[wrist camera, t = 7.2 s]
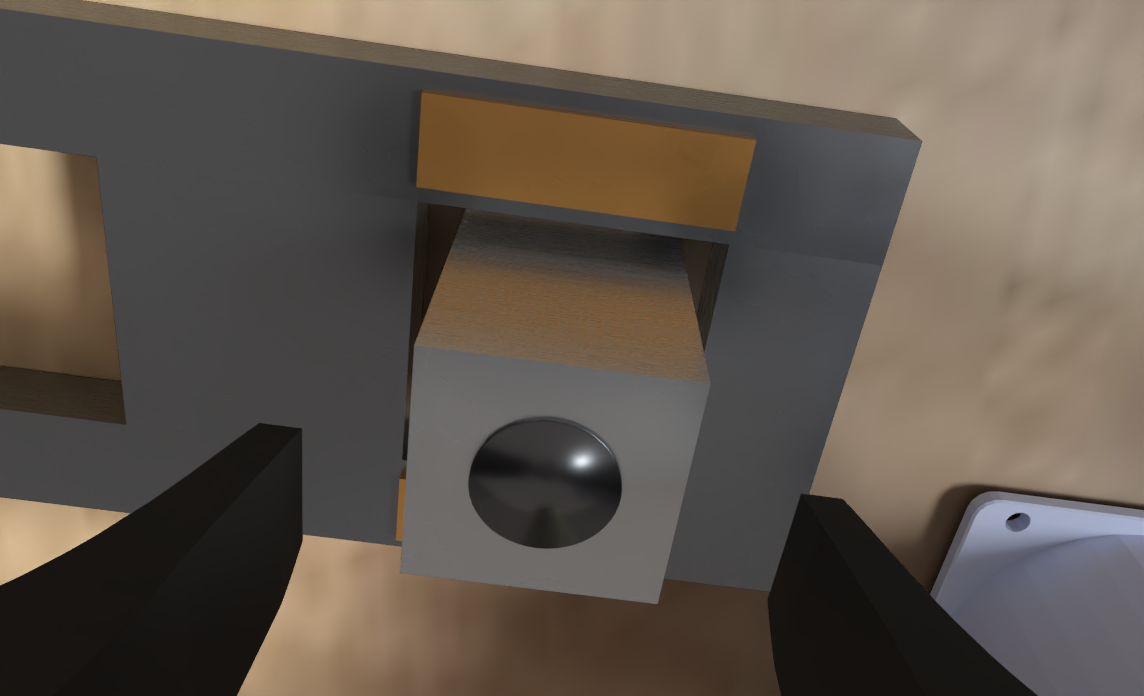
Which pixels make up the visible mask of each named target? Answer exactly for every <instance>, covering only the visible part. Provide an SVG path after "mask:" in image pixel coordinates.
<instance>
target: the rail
mask: <svg viewBox="0 0 1144 696" xmlns="http://www.w3.org/2000/svg"><path fill="white" fill-rule="evenodd" d="M0 144H6V145H13V146H20V147H28V148H35V149H42V150H49V151H57V152H64V153H71V154H78V155H86V156H93V157H96V159H97V168H98V177H99V186H100V194H101V203H102V212H103V221H104V230H105V239H106V248H107V257H108V265H109V274H110V283H111V292H112V301H113V310H114V319H115V328H116V337H117V345H118V354H119V363H120V372H121V381H122V382H118V381H111V380H103V379H95V378H87V377H80V376H72V375H64V374H56V373H49V372H41V371H33V370H25V369H17V368H10V367H2V366H0V497H3V498H11V499H20V500H28V501H36V502H44V503H52V504H60V505H68V506H76V507H85V508H93V509H101V510H109V511H117V512H125V513H132V512H134V511H136V510H137V509H139V508H140V507H142V506H143V505H145V504H147V503H148V502H150V501H151V500H153V499H154V498H156V497H157V496H158V495H160V494H161V493H163V492H164V491H166V490H167V489H168V488H170V487H171V486H173V485H174V484H176V483H177V482H178V481H180V480H181V479H183V478H184V477H185V476H187V475H188V474H190V473H191V472H192V471H194V470H195V469H197V468H198V467H199V466H201V465H202V464H203V463H205V462H206V461H207V460H209V459H210V458H212V457H213V456H214V455H216V454H217V453H218V452H220V451H221V450H222V449H224V448H225V447H226V446H228V445H229V444H230V443H232V442H233V441H235V440H236V439H237V438H239V437H240V436H241V435H243V434H244V433H246V432H247V431H248V430H250V429H251V428H253V427H254V426H256V425H257V424H258V423H265V424H272V425H280V426H288V427H295V428H302V524H303V534H304V535H312V536H320V537H329V538H337V539H345V540H353V541H361V542H369V543H377V544H385V545H394V546H402V536H403V520H404V503H405V487H406V471H407V454H408V438H409V421H410V405H411V389H412V372H413V356H414V344H415V342H416V339H417V336H418V334H419V331H420V328H421V325H422V310H423V295H424V279H425V264H426V249H427V233H428V218H429V203H433V204H440V205H447V206H454V207H461V208H469V209H476V210H483V211H490V212H498V213H505V214H512V215H519V216H527V217H534V218H541V219H548V220H555V221H563V222H570V223H577V224H584V225H592V226H599V227H606V228H613V229H621V230H628V231H635V232H642V233H649V234H657V235H664V236H671V237H678V238H686V239H693V240H700V241H707V242H713V247H712V251H711V256H710V260H709V265H708V269H707V274H706V278H705V283H704V287H703V292H702V296H701V300H700V305H699V309H698V314H697V322H698V327H699V332H700V336H701V341H702V346H703V351H704V355H705V360H706V365H707V369H708V374H709V379H710V388H709V393H708V397H707V401H706V405H705V409H704V413H703V417H702V422H701V426H700V430H699V434H698V438H697V442H696V447H695V451H694V455H693V459H692V463H691V467H690V472H689V476H688V480H687V484H686V488H685V492H684V497H683V501H682V505H681V509H680V513H679V517H678V521H677V526H676V530H675V534H674V538H673V542H672V546H671V551H670V555H669V559H668V563H667V567H666V571H665V576H664V579H670V580H678V581H686V582H695V583H703V584H711V585H719V586H727V587H735V588H743V589H751V590H760V591H768V592H770V590H771V587H772V584H773V581H774V578H775V575H776V571H777V568H778V565H779V562H780V559H781V556H782V552H783V549H784V546H785V543H786V540H787V537H788V533H789V530H790V527H791V524H792V521H793V518H794V514H795V511H796V508H797V505H798V502H799V499H800V495H801V494H808V495H809V492H810V489H811V486H812V483H813V480H814V476H815V473H816V470H817V467H818V464H819V461H820V458H821V455H822V452H823V448H824V445H825V442H826V439H827V436H828V433H829V430H830V427H831V424H832V420H833V417H834V414H835V411H836V408H837V405H838V402H839V399H840V396H841V393H842V389H843V386H844V383H845V380H846V377H847V374H848V371H849V368H850V365H851V361H852V358H853V355H854V352H855V349H856V346H857V343H858V340H859V337H860V333H861V330H862V327H863V324H864V321H865V318H866V315H867V312H868V309H869V305H870V302H871V299H872V296H873V293H874V290H875V287H876V284H877V281H878V278H879V274H880V271H881V268H882V265H883V262H884V259H885V256H886V253H887V250H888V246H889V243H890V240H891V237H892V234H893V231H894V228H895V225H896V222H897V218H898V215H899V212H900V209H901V206H902V203H903V200H904V197H905V194H906V191H907V187H908V184H909V181H910V178H911V175H912V172H913V169H914V166H915V163H916V159H917V156H918V153H919V150H920V147H921V144H922V141H921V140H920V139H919V138H918V137H917V136H916V135H915V134H913V133H912V132H911V131H910V130H909V129H908V128H907V127H905V126H904V125H903V124H902V123H901V122H900V121H899V120H898V119H896V118H889V117H882V116H875V115H868V114H861V113H855V112H848V111H841V110H834V109H827V108H820V107H813V106H806V105H799V104H793V103H786V102H779V101H772V100H765V99H758V98H751V97H744V96H737V95H730V94H724V93H717V92H710V91H703V90H696V89H689V88H682V87H675V86H668V85H662V84H655V83H648V82H641V81H634V80H627V79H620V78H613V77H606V76H599V75H593V74H586V73H579V72H572V71H565V70H558V69H551V68H544V67H537V66H531V65H524V64H517V63H510V62H503V61H496V60H489V59H482V58H475V57H469V56H462V55H455V54H448V53H441V52H434V51H427V50H420V49H413V48H406V47H400V46H393V45H386V44H379V43H372V42H365V41H358V40H351V39H344V38H338V37H331V36H324V35H317V34H310V33H303V32H296V31H289V30H282V29H275V28H269V27H262V26H255V25H248V24H241V23H234V22H227V21H220V20H213V19H207V18H200V17H193V16H186V15H179V14H172V13H165V12H158V11H151V10H144V9H138V8H131V7H124V6H117V5H110V4H103V3H96V2H89V1H82V0H0Z"/></svg>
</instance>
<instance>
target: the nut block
mask: <svg viewBox="0 0 1144 696" xmlns="http://www.w3.org/2000/svg"><path fill="white" fill-rule="evenodd" d="M709 388H710V379H709V374H708V369H707V365H706V360H705V355H704V351H703V346H702V341H701V336H700V332H699V327H698V322H697V317H696V313H695V308H694V303H693V299H692V294H691V289H690V284H689V280H688V275H687V270H686V266H685V261H684V256H683V251H682V247H681V242H680V238H678V237H671V236H664V235H657V234H649V233H642V232H635V231H628V230H621V229H613V228H606V227H599V226H592V225H584V224H577V223H570V222H563V221H555V220H548V219H541V218H534V217H527V216H519V215H512V214H505V213H498V212H490V211H483V210H476V209H469V208H466V210H465V213H464V215H463V218H462V221H461V223H460V226H459V228H458V231H457V234H456V236H455V239H454V242H453V244H452V247H451V249H450V252H449V255H448V257H447V260H446V263H445V265H444V268H443V270H442V273H441V276H440V278H439V281H438V284H437V286H436V289H435V292H434V294H433V297H432V299H431V302H430V305H429V307H428V310H427V313H426V315H425V318H424V320H423V323H422V326H421V328H420V331H419V334H418V336H417V339H416V342H415V344H414V356H413V372H412V389H411V405H410V421H409V438H408V454H407V471H406V487H405V503H404V520H403V536H402V553H401V569H400V573H405V574H413V575H421V576H429V577H438V578H446V579H454V580H462V581H471V582H479V583H487V584H496V585H504V586H512V587H520V588H529V589H537V590H545V591H553V592H562V593H570V594H578V595H586V596H595V597H603V598H611V599H619V600H628V601H636V602H644V603H653V604H658V601H659V596H660V592H661V588H662V584H663V580H664V576H665V571H666V567H667V563H668V559H669V555H670V551H671V546H672V542H673V538H674V534H675V530H676V526H677V521H678V517H679V513H680V509H681V505H682V501H683V497H684V492H685V488H686V484H687V480H688V476H689V472H690V467H691V463H692V459H693V455H694V451H695V447H696V442H697V438H698V434H699V430H700V426H701V422H702V417H703V413H704V409H705V405H706V401H707V397H708V393H709Z"/></svg>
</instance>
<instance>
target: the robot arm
mask: <svg viewBox="0 0 1144 696" xmlns="http://www.w3.org/2000/svg"><path fill="white" fill-rule="evenodd" d="M1015 513H1022V514H1021V515H1020V516H1019V517H1018V518H1016V519H1014V520H1007V519H1008V518H1009V517H1010V516H1011V515H1013V514H1015ZM302 541H303V524H302V428H295V427H288V426H280V425H272V424H265V423H258V424H257V425H256V426H254V427H253V428H251V429H250V430H248V431H247V432H246V433H244V434H243V435H241V436H240V437H239V438H237V439H236V440H235V441H233V442H232V443H230V444H229V445H228V446H226V447H225V448H224V449H222V450H221V451H220V452H218V453H217V454H216V455H214V456H213V457H212V458H210V459H209V460H207V461H206V462H205V463H203V464H202V465H201V466H199V467H198V468H197V469H195V470H194V471H192V472H191V473H190V474H188V475H187V476H185V477H184V478H183V479H181V480H180V481H178V482H177V483H176V484H174V485H173V486H171V487H170V488H168V489H167V490H166V491H164V492H163V493H161V494H160V495H158V496H157V497H156V498H154V499H153V500H151V501H150V502H148V503H147V504H145V505H143V506H142V507H140V508H139V509H137V510H136V511H134V512H132V513H131V514H129V515H128V516H126V517H125V518H123V519H121V520H120V521H118V522H117V523H115V524H114V525H112V526H110V527H109V528H107V529H106V530H104V531H103V532H101V533H99V534H98V535H96V536H94V537H93V538H91V539H89V540H87V541H86V542H84V543H82V544H80V545H79V546H77V547H75V548H73V549H72V550H70V551H68V552H66V553H64V554H62V555H61V556H59V557H57V558H55V559H53V560H51V561H49V562H47V563H45V564H43V565H41V566H39V567H37V568H36V569H34V570H32V571H30V572H28V573H26V574H24V575H22V576H20V577H18V578H16V579H14V580H12V581H9V582H7V583H5V584H3V585H0V696H237V694H238V692H239V690H240V688H241V686H242V684H243V682H244V680H245V678H246V676H247V674H248V672H249V670H250V668H251V666H252V664H253V662H254V660H255V657H256V655H257V653H258V651H259V649H260V647H261V645H262V643H263V641H264V639H265V637H266V635H267V633H268V631H269V629H270V627H271V624H272V622H273V620H274V618H275V616H276V614H277V612H278V610H279V608H280V606H281V603H282V601H283V598H284V595H285V592H286V589H287V586H288V584H289V581H290V578H291V575H292V572H293V569H294V566H295V563H296V560H297V556H298V553H299V550H300V547H301V544H302ZM768 610H769V621H770V632H771V641H772V650H773V658H774V665H775V670H776V674H777V679H778V683H779V687H780V692H781V696H1144V510H1138V509H1130V508H1123V507H1115V506H1107V505H1099V504H1092V503H1084V502H1076V501H1068V500H1061V499H1053V498H1045V497H1037V496H1030V495H1022V494H1014V493H1006V492H998V491H994V492H986V493H983V494H980V495H978V496H977V497H976V498H974V499H973V500H972V501H971V502H970V504H969V505H968V507H967V509H966V511H965V514H964V516H963V518H962V521H961V523H960V525H959V528H958V530H957V532H956V535H955V537H954V539H953V542H952V544H951V546H950V549H949V551H948V553H947V556H946V558H945V560H944V563H943V565H942V567H941V570H940V572H939V574H938V577H937V579H936V581H935V584H934V586H933V589H932V591H931V593H930V594H929V593H928V592H927V591H926V590H925V589H924V588H923V587H922V586H921V585H920V584H919V583H918V582H917V580H916V579H915V578H914V577H913V576H912V575H911V574H910V573H909V572H908V571H907V570H906V568H905V567H904V566H903V565H902V564H901V563H900V562H899V561H898V560H897V559H896V557H895V556H894V555H893V554H892V553H891V552H890V551H889V550H888V548H887V547H886V546H885V545H884V544H883V543H882V542H881V541H880V539H879V538H878V537H877V536H876V535H875V534H874V533H873V532H872V530H871V529H870V528H869V527H868V526H867V525H866V524H865V523H864V521H863V520H862V519H861V518H860V517H859V516H858V515H857V514H856V513H855V511H854V510H853V509H852V508H851V507H850V506H849V505H848V504H847V503H846V502H845V501H844V500H843V499H838V498H831V497H823V496H815V495H808V494H801V495H800V499H799V502H798V505H797V508H796V511H795V514H794V518H793V521H792V524H791V527H790V530H789V533H788V537H787V540H786V543H785V546H784V549H783V552H782V556H781V559H780V562H779V565H778V568H777V571H776V575H775V578H774V581H773V584H772V587H771V590H770V594H769V597H768Z"/></svg>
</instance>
